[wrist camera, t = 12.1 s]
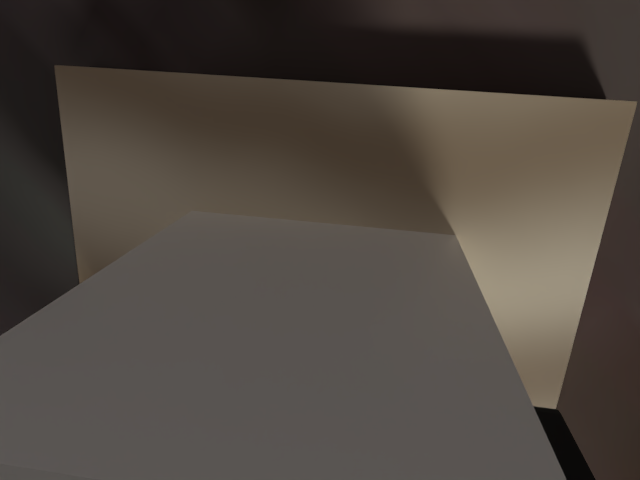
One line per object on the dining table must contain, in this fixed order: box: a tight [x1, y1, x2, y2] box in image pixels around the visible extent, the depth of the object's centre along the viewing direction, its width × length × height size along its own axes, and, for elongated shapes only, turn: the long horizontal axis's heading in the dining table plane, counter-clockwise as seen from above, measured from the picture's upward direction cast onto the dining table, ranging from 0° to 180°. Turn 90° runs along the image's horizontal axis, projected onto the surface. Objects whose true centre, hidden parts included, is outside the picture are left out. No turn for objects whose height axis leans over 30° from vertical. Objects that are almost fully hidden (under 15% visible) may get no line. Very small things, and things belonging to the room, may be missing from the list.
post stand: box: [54, 65, 637, 409], centre depth 11 cm, size 14×14×8 cm
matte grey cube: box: [0, 211, 566, 480], centre depth 9 cm, size 7×7×9 cm
